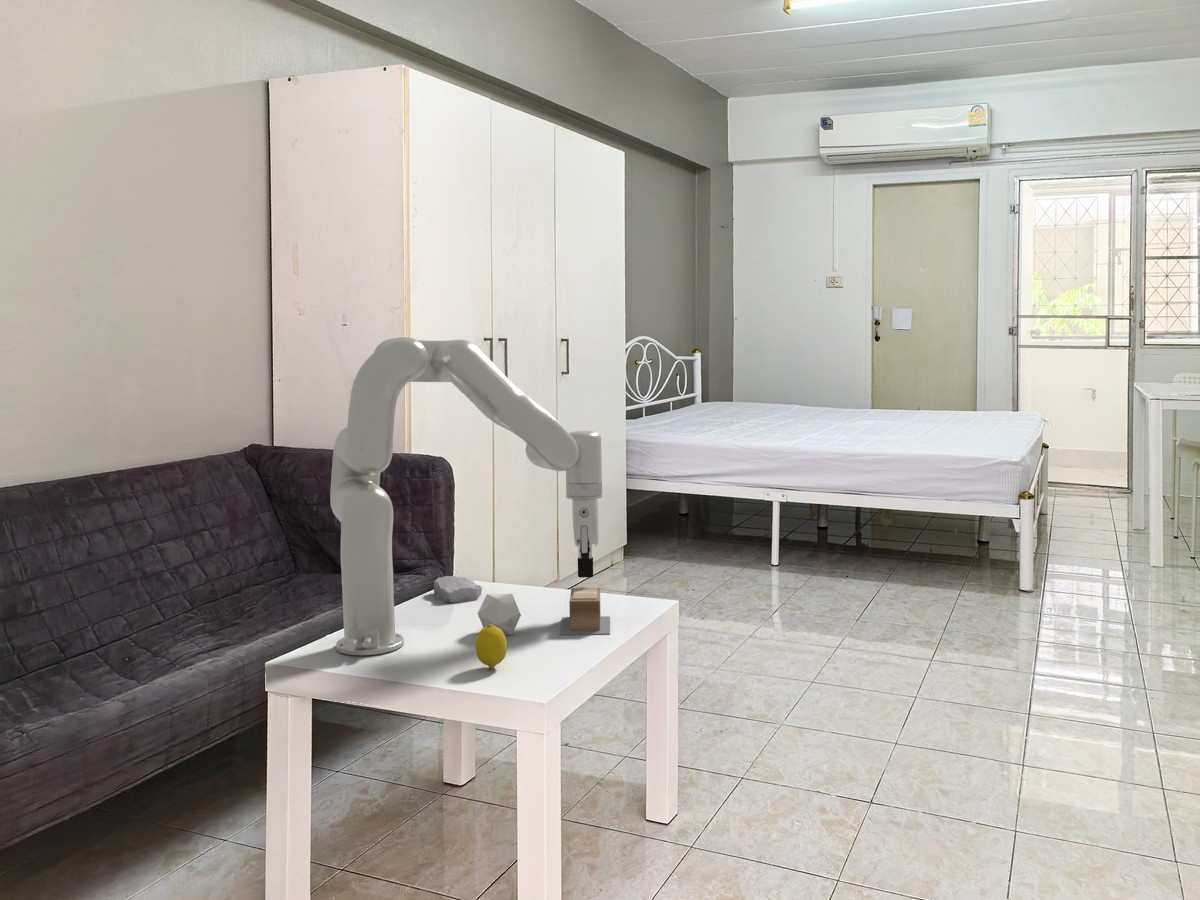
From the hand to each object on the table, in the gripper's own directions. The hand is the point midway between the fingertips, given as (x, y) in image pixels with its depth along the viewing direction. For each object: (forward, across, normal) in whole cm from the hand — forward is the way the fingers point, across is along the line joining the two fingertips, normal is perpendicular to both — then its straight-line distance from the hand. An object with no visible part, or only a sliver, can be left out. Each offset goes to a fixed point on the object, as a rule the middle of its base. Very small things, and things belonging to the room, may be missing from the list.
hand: (585, 576), depth 205 cm
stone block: (+9, +19, +30) cm, 36 cm away
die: (+9, -12, +17) cm, 23 cm away
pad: (+8, -8, 0) cm, 11 cm away
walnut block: (+5, -1, 0) cm, 5 cm away
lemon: (+9, -34, +16) cm, 39 cm away
